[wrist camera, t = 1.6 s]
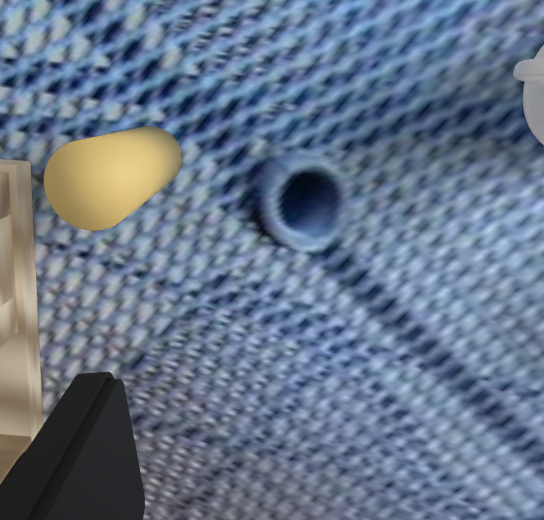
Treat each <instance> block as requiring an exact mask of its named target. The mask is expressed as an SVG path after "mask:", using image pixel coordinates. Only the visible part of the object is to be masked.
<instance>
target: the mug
mask: <svg viewBox="0 0 544 520" xmlns="http://www.w3.org/2000/svg"><path fill="white" fill-rule="evenodd" d="M513 75H514V77H515V78H516V79H518V80H520V81H524V82H525V83H524V88H523V109H524V114H525V118H526V121H527V124H528V126H529V128H530V130H531V131H532V133H533V134H534V136H535V137H536V138H537V139H538V140H539V141H540V142H541V143H542V144H543V145H544V45H543V46H542V47H541V49H540V50H539V51H538V53H537V54H536V56H535V58H534V59H528V60H523V61H520V62H518V63H517V64H516V66H515V68H514V72H513Z"/></svg>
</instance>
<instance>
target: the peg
mask: <svg viewBox="0 0 544 520" xmlns="http://www.w3.org/2000/svg"><path fill="white" fill-rule="evenodd" d="M181 163H182V155H181V150H180V147H179V145H178V143H177V141H176V140H175V139H174V137H173V136H172V135H171V134H170V133H168V132H167V131H165V130H163V129H161V128H158V127H154V126H145V127H140V128H135V129H130V130H125V131H121V132H116V133H111V134H106V135H101V136H97V137H92V138H87V139H82V140H77V141H73V142H70V143H68V144H65V145H64V146H62V147H60V148H59V149H58V150H57V151H56V152H55V153H54V154H53V155H52V156H51V158H50V159H49V161H48V163H47V166H46V169H45V173H44V188H45V192H46V196H47V198H48V201H49V203H50V205H51V206H52V208H53V209H54V211H55V212H56V213H57V214H58V215H59V216H60V217H61V218H62V219H63V220H65V221H66V222H68V223H69V224H71V225H73V226H75V227H78V228H81V229H84V230H95V231H96V230H103V229H107V228H110V227H112V226H114V225H116V224H118V223H119V222H120V221H122V220H123V219H124V218H125V217H127V216H128V215H129V214H130V213H132V212H133V211H134V210H136V209H137V208H138V207H139V206H141V205H142V204H143V203H144V202H146V201H147V200H148V199H149V198H151V197H152V196H153V195H155V194H156V193H157V192H158V191H160V190H161V189H162V188H163V187H165V186H166V185H167V184H168V183H170V182H171V181H172V180H173V179H174V178H175V177H176V176H177V174H178V172H179V170H180V168H181Z"/></svg>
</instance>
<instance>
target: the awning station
mask: <svg viewBox="0 0 544 520" xmlns="http://www.w3.org/2000/svg"><path fill="white" fill-rule="evenodd" d="M42 426H43V412H42V392H41V371H40V350H39V329H38V308H37V287H36V266H35V245H34V224H33V204H32V183H31V162H30V161H19V160H8V159H0V484H1V483H2V481H3V480H4V478H5V477H6V475H7V474H8V472H9V471H10V470H11V468H12V467H13V465H14V464H15V462H16V461H17V459H18V458H19V457H20V456H21V455H22V453H23V452H25V451H26V450H27V448H28V447H29V445H30V444H31V442H32V441H33V439H34V438H35V436H36V435H37V433H38V432H39V430H40V429H41V428H42Z"/></svg>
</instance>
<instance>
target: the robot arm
mask: <svg viewBox="0 0 544 520" xmlns="http://www.w3.org/2000/svg"><path fill="white" fill-rule="evenodd" d="M144 509H145V496H144V490H143V484H142V479H141V474H140V468H139V463H138V457H137V452H136V447H135V441H134V436H133V430H132V425H131V419H130V414H129V409H128V403H127V398H126V392H125V387H124V383H123V381H122V380H121V379H114V377H113V375H112V374H111V373H110V372H99V373H83V374H78V375H77V376H76V377H75V378H74V380H73V381H72V383H71V384H70V386H69V387H68V389H67V390H66V392H65V393H64V395H63V396H62V398H61V399H60V401H59V402H58V404H57V405H56V407H55V408H54V410H53V411H52V413H51V414H50V416H49V417H48V419H47V420H46V422H45V423H44V425H43V426H42V428H41V429H40V430H39V432H38V433H37V435H36V436H35V438H34V439H33V441H32V442H31V444H30V445H29V447H28V448H27V450H26V451H25V452H23V453H22V455H21V456H20V457H19V458H18V459H17V461H16V462H15V464H14V465H13V467H12V468H11V470H10V471H9V472H8V474H7V475H6V477H5V478H4V480H3V481H2V483H1V484H0V520H142V519H143V515H144Z"/></svg>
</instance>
